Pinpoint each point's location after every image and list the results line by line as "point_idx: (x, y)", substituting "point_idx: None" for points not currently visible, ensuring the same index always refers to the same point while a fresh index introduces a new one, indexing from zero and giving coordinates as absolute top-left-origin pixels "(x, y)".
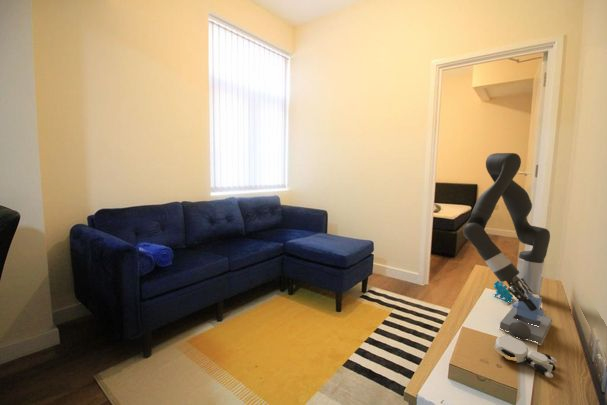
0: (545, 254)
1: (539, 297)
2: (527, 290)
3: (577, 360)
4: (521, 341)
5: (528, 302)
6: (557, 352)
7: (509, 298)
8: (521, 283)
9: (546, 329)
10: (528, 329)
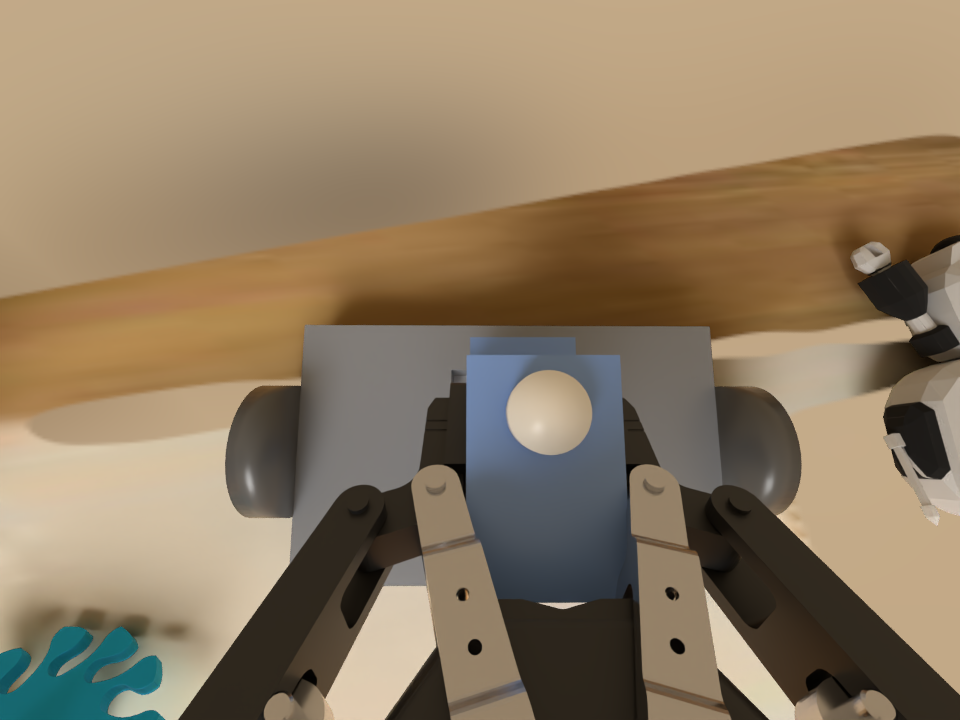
0: None
1: (494, 377)
2: (478, 543)
3: (672, 190)
4: (949, 402)
5: (655, 461)
6: (677, 266)
7: (85, 662)
8: (532, 715)
9: (548, 326)
10: (773, 397)
